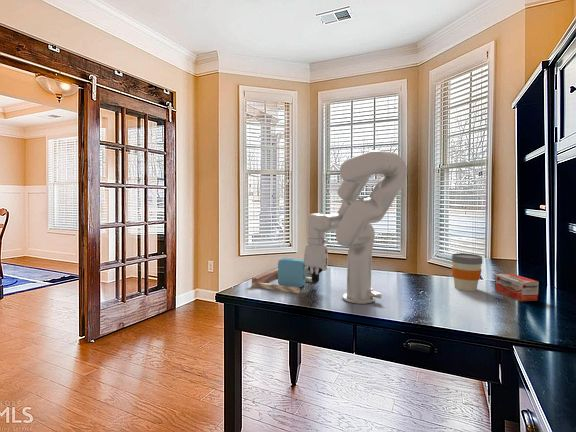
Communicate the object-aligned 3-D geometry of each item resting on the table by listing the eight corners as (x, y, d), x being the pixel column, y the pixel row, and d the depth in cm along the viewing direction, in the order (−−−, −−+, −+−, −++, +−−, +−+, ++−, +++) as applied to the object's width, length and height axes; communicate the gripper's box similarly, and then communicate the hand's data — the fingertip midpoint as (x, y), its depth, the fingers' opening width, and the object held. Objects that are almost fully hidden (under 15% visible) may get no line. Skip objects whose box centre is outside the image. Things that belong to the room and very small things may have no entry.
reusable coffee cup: (449, 289, 160) (450, 256, 159) (451, 283, 171) (452, 252, 170) (481, 293, 154) (482, 259, 153) (481, 287, 165) (482, 254, 164)
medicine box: (494, 291, 159) (495, 273, 158) (511, 290, 160) (512, 273, 159) (520, 301, 144) (521, 282, 143) (538, 301, 145) (540, 281, 144)
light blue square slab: (305, 285, 165) (305, 259, 164) (302, 287, 161) (303, 261, 160) (281, 282, 169) (281, 257, 168) (277, 285, 165) (277, 259, 164)
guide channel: (316, 282, 171) (316, 273, 170) (298, 293, 152) (298, 284, 152) (273, 276, 181) (273, 268, 180) (251, 286, 162) (251, 277, 162)
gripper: (334, 241, 158) (333, 282, 160) (303, 239, 165) (303, 278, 166) (329, 244, 152) (328, 286, 153) (297, 241, 158) (296, 282, 160)
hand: (315, 282), depth 160 cm, fingers closed
